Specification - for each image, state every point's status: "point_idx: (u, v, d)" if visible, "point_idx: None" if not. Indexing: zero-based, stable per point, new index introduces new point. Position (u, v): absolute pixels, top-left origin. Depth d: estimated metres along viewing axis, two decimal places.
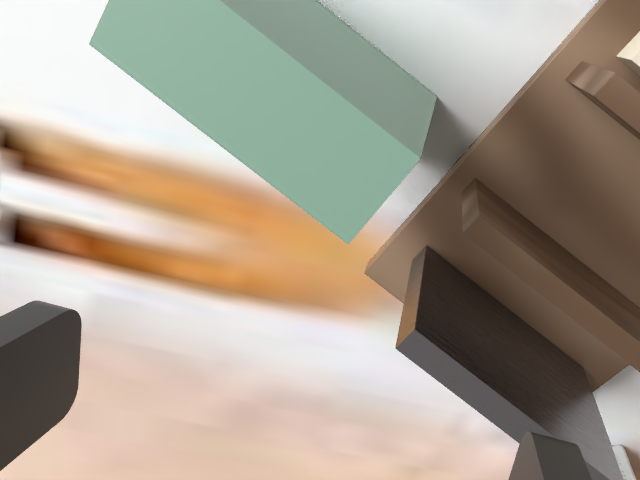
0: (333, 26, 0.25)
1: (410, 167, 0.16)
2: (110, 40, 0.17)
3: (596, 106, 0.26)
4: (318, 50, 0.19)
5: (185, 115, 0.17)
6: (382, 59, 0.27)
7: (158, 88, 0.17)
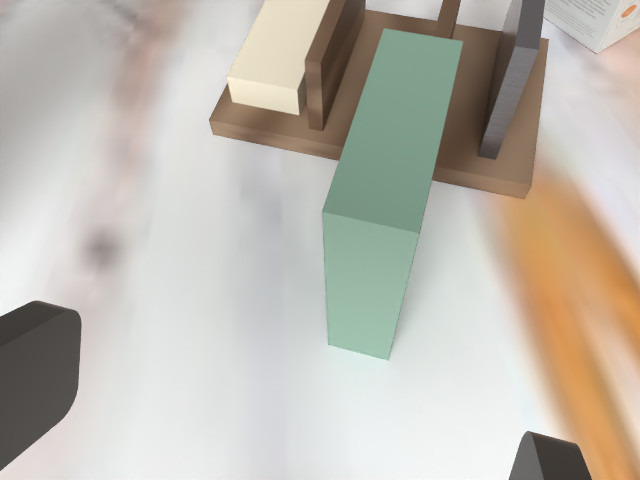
0: None
1: (392, 30, 0.24)
2: (407, 217, 0.20)
3: (331, 110, 0.39)
4: None
5: (435, 153, 0.21)
6: None
7: (425, 175, 0.20)
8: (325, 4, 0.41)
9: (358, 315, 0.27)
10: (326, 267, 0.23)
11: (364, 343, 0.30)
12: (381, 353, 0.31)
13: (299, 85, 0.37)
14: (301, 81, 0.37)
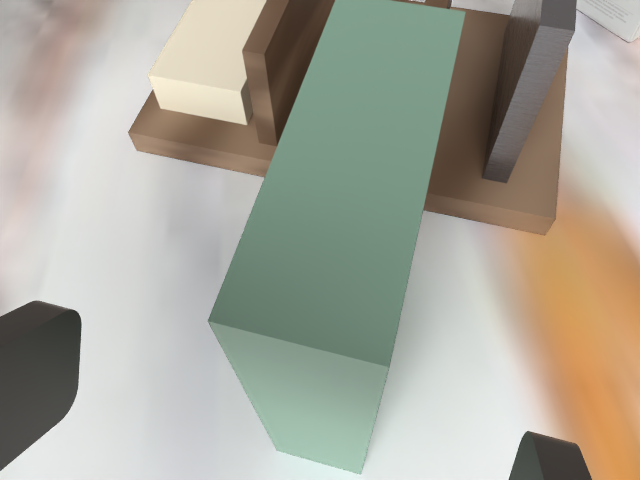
0: None
1: None
2: (367, 332, 0.10)
3: None
4: None
5: (420, 204, 0.12)
6: None
7: (402, 247, 0.11)
8: None
9: (309, 434, 0.18)
10: (244, 385, 0.14)
11: (324, 457, 0.21)
12: (350, 468, 0.21)
13: (244, 86, 0.28)
14: None
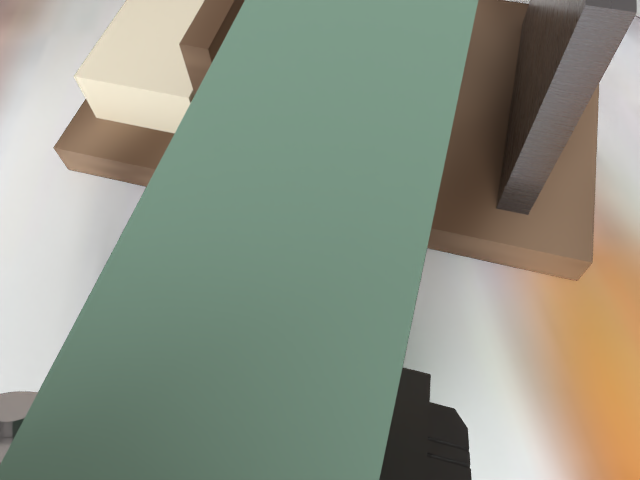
0: None
1: None
2: None
3: None
4: None
5: (401, 331, 0.06)
6: None
7: (361, 434, 0.05)
8: None
9: None
10: None
11: None
12: None
13: None
14: None
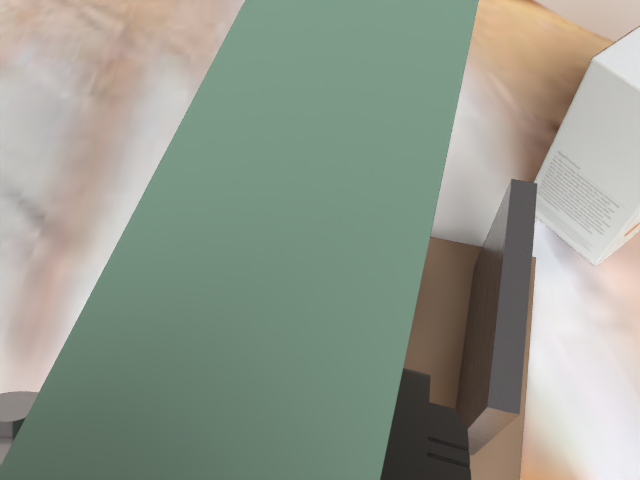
0: None
1: None
2: None
3: None
4: None
5: (401, 334, 0.06)
6: None
7: (361, 437, 0.05)
8: None
9: None
10: None
11: None
12: None
13: None
14: None
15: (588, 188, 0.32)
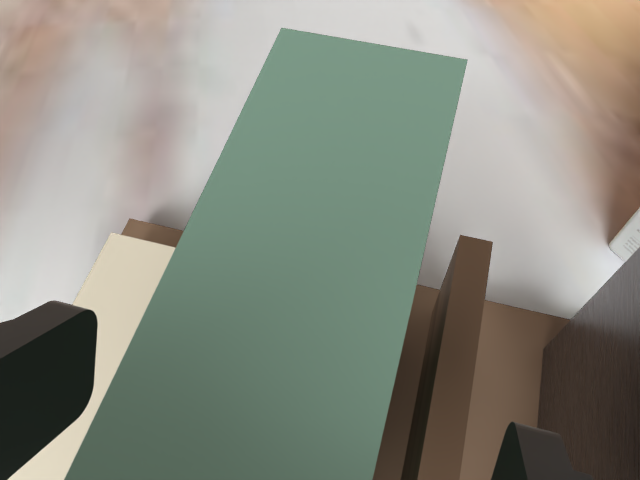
0: None
1: (299, 32, 0.10)
2: None
3: None
4: None
5: (381, 408, 0.07)
6: None
7: None
8: None
9: None
10: None
11: None
12: None
13: None
14: None
15: None
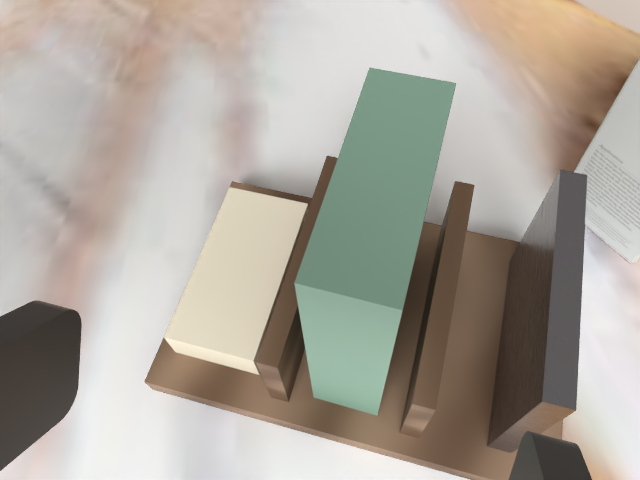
0: None
1: (378, 70, 0.22)
2: (389, 290, 0.17)
3: (299, 368, 0.31)
4: None
5: (422, 214, 0.19)
6: None
7: (411, 240, 0.18)
8: (294, 218, 0.33)
9: (342, 376, 0.25)
10: (304, 332, 0.21)
11: (350, 399, 0.28)
12: (369, 409, 0.28)
13: (257, 351, 0.29)
14: (259, 344, 0.29)
15: (630, 183, 0.31)
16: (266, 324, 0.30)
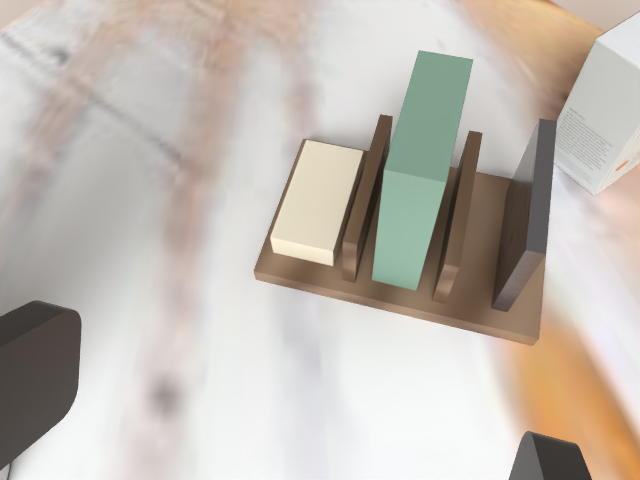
0: None
1: (424, 51, 0.36)
2: (438, 173, 0.31)
3: (361, 261, 0.44)
4: None
5: (455, 133, 0.32)
6: None
7: (449, 147, 0.32)
8: (354, 160, 0.46)
9: (398, 251, 0.38)
10: (380, 211, 0.35)
11: (399, 276, 0.41)
12: (411, 284, 0.42)
13: (334, 246, 0.42)
14: (336, 241, 0.42)
15: (591, 134, 0.45)
16: (339, 229, 0.43)
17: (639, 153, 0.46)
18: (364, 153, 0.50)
